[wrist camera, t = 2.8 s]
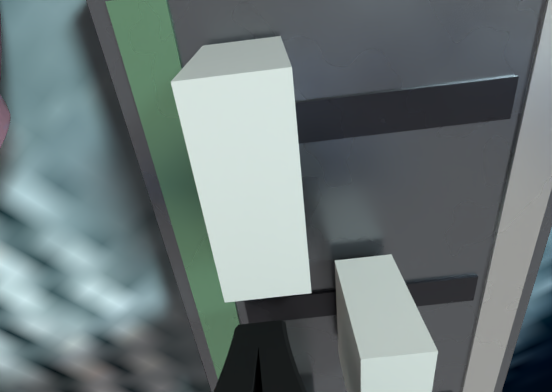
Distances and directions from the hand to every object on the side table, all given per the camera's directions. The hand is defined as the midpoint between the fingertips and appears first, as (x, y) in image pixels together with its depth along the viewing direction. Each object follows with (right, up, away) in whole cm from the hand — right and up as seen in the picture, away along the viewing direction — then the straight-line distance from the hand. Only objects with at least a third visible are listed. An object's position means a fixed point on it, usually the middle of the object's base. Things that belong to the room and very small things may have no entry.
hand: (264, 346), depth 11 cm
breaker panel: (+3, +2, +2) cm, 4 cm away
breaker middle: (+3, +1, +1) cm, 3 cm away
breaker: (0, +6, -2) cm, 6 cm away
